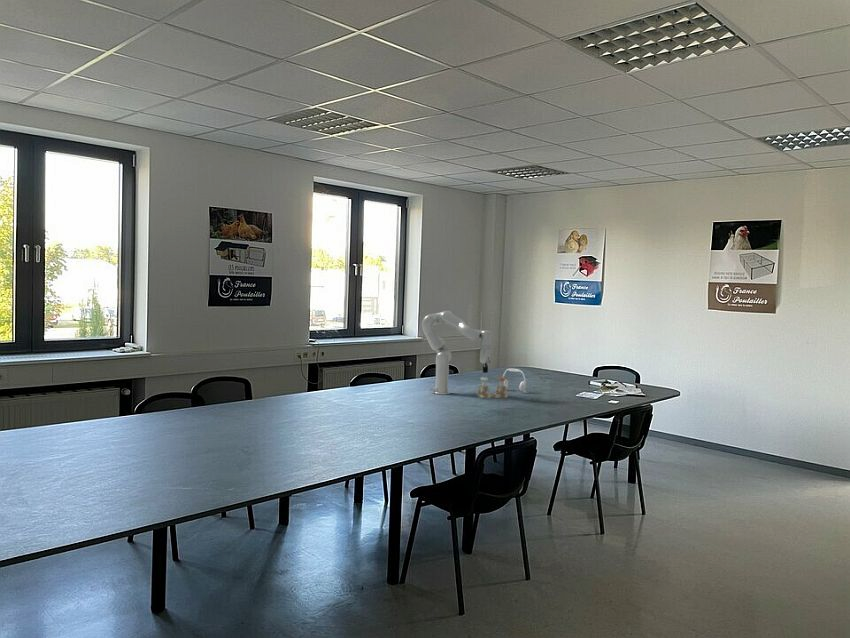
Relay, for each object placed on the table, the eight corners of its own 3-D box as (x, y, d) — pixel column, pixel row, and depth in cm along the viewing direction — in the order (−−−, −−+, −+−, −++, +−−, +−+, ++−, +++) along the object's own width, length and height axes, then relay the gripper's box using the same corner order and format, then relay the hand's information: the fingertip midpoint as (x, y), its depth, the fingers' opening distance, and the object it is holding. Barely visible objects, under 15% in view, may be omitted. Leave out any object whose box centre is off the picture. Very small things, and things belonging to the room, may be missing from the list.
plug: (481, 389, 461) (482, 378, 460) (479, 388, 466) (479, 377, 465) (488, 389, 462) (488, 378, 462) (485, 387, 467) (486, 377, 467)
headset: (499, 390, 496) (500, 367, 495) (504, 389, 502) (505, 367, 501) (522, 393, 484) (523, 370, 483) (527, 392, 490) (528, 369, 489)
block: (482, 398, 459) (482, 387, 458) (477, 395, 468) (477, 385, 468) (507, 397, 464) (508, 387, 464) (502, 395, 474) (502, 385, 473)
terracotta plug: (499, 388, 465) (500, 378, 464) (496, 387, 470) (497, 377, 469) (506, 388, 466) (506, 378, 466) (503, 387, 471) (503, 377, 471)
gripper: (477, 346, 468) (476, 371, 469) (484, 348, 454) (484, 374, 455) (486, 346, 470) (486, 371, 471) (494, 348, 456) (494, 373, 457)
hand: (485, 372), depth 463 cm, fingers closed
